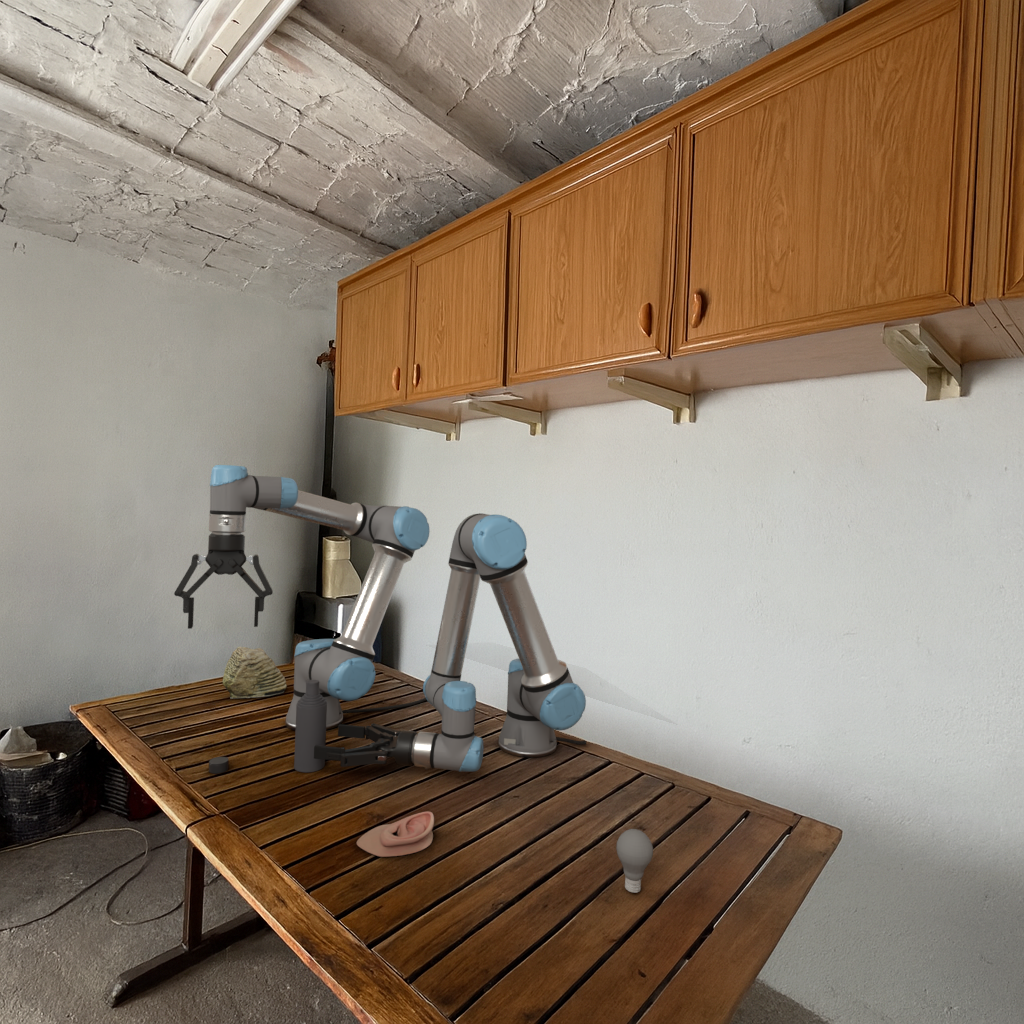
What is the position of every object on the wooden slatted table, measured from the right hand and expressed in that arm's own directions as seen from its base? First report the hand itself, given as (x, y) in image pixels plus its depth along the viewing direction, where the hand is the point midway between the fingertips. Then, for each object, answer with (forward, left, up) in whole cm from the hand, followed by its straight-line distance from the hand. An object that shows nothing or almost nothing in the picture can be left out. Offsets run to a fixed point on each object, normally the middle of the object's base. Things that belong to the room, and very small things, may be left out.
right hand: (327, 740), depth 148 cm
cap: (+23, -4, -5) cm, 24 cm away
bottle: (+4, -2, -6) cm, 8 cm away
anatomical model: (-11, +36, -6) cm, 38 cm away
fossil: (+19, -59, -6) cm, 63 cm away
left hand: (+23, -4, +26) cm, 36 cm away
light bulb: (-46, +61, -6) cm, 77 cm away
